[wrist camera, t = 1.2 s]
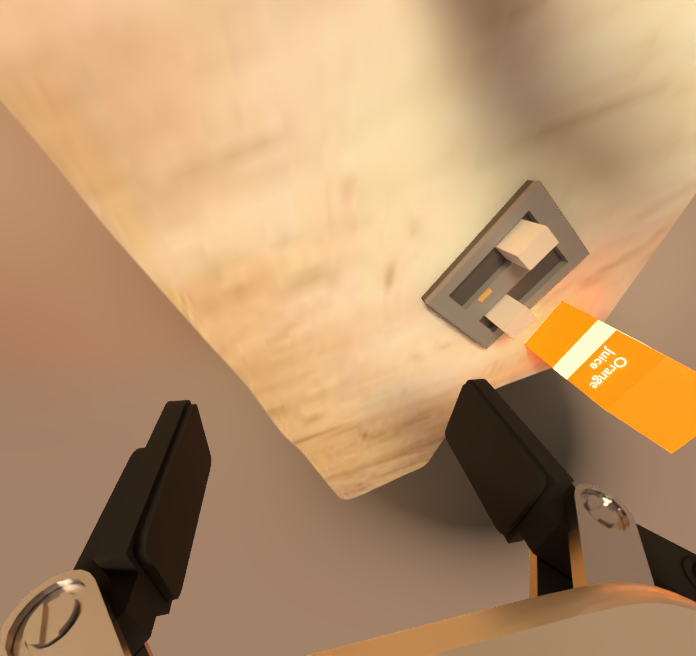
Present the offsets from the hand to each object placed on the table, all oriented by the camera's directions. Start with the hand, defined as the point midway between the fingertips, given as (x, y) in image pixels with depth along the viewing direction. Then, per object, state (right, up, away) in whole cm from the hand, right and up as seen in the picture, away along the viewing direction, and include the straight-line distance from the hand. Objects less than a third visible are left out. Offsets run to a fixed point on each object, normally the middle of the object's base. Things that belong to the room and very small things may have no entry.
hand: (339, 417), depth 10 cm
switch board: (+21, +11, +29) cm, 37 cm away
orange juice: (+35, +3, +37) cm, 51 cm away
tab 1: (+21, +14, +25) cm, 36 cm away
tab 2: (+22, +6, +31) cm, 38 cm away
